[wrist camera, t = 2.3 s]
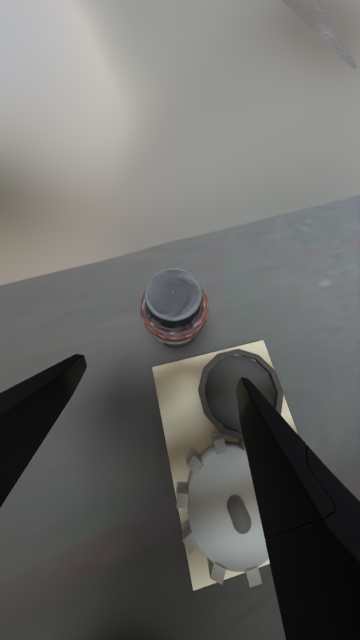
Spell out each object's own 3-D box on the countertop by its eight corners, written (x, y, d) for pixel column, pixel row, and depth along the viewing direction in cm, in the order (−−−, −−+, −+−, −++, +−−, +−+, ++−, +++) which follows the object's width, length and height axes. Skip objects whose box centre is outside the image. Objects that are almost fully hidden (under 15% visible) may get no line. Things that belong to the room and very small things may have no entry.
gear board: (327, 528, 16) (374, 581, 12) (192, 576, 15) (197, 649, 11) (259, 341, 21) (277, 336, 17) (153, 367, 20) (147, 368, 16)
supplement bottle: (159, 302, 22) (141, 246, 11) (200, 310, 22) (223, 260, 11) (149, 343, 21) (118, 324, 10) (193, 352, 21) (211, 342, 10)
